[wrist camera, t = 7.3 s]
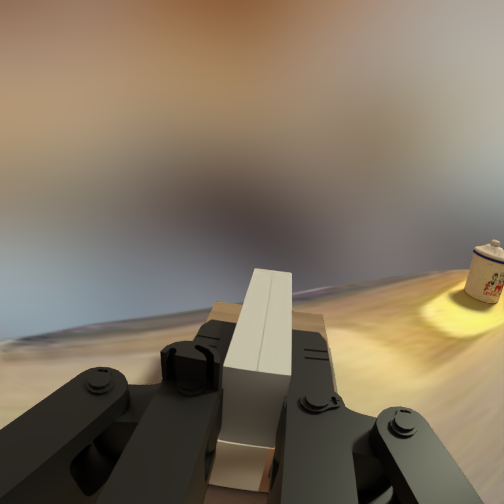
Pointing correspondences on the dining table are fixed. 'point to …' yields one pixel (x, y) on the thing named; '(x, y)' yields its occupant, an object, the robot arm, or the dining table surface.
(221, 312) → the walnut slab
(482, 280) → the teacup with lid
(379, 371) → the dining table surface
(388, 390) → the dining table surface
